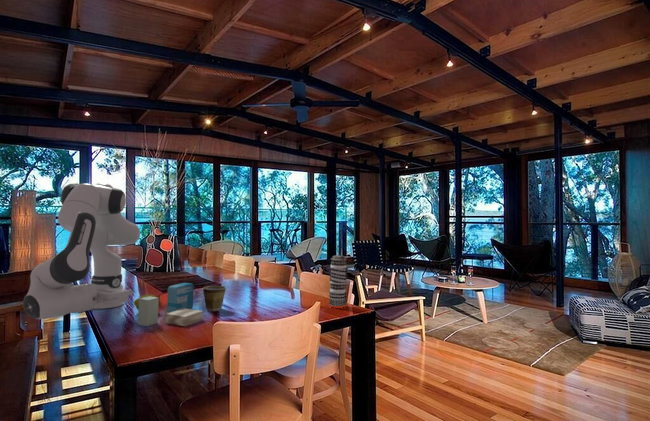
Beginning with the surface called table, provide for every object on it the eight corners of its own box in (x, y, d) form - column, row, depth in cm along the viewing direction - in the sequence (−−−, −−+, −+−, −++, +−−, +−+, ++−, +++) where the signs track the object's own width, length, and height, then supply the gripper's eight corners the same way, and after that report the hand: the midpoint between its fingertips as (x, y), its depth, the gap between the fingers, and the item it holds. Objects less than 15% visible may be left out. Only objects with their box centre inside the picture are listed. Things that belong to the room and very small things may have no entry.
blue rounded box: (175, 315, 158) (176, 287, 158) (166, 314, 159) (167, 286, 160) (193, 309, 169) (194, 282, 170) (184, 308, 171) (185, 282, 171)
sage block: (137, 324, 144) (138, 298, 144) (148, 321, 148) (149, 296, 148) (147, 326, 142) (148, 300, 142) (157, 322, 146) (158, 297, 146)
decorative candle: (344, 309, 176) (345, 257, 177) (325, 307, 179) (327, 256, 179) (348, 305, 185) (349, 255, 185) (330, 303, 188) (332, 254, 188)
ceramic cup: (228, 310, 169) (228, 288, 169) (206, 313, 163) (206, 290, 163) (218, 304, 179) (219, 283, 179) (197, 306, 174) (198, 285, 174)
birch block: (165, 323, 146) (165, 313, 146) (183, 317, 156) (183, 308, 156) (185, 327, 143) (185, 316, 143) (202, 320, 152) (202, 311, 152)
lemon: (163, 312, 163) (164, 293, 163) (151, 316, 155) (152, 297, 155) (142, 310, 165) (143, 292, 165) (129, 314, 157) (130, 295, 158)
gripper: (106, 290, 117) (142, 284, 130) (64, 285, 125) (103, 279, 138) (105, 310, 117) (142, 302, 130) (64, 304, 125) (102, 296, 138)
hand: (121, 290), depth 134 cm, fingers open, 8 cm apart
